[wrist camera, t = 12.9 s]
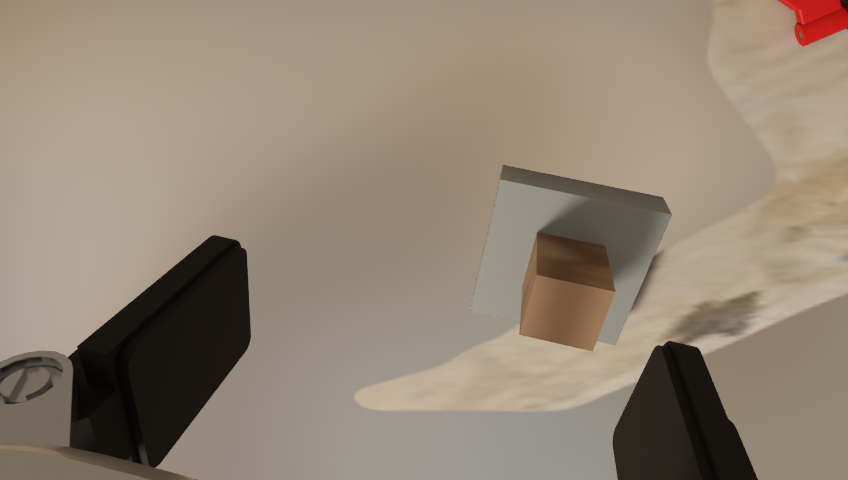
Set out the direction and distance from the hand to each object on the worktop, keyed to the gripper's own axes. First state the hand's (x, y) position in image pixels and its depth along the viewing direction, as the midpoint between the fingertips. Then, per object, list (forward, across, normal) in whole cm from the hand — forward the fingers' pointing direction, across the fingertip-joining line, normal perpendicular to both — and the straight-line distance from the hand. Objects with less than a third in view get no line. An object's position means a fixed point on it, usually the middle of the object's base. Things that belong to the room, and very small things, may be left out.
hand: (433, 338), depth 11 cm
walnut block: (+25, -7, +12) cm, 29 cm away
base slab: (+28, -7, +12) cm, 32 cm away
